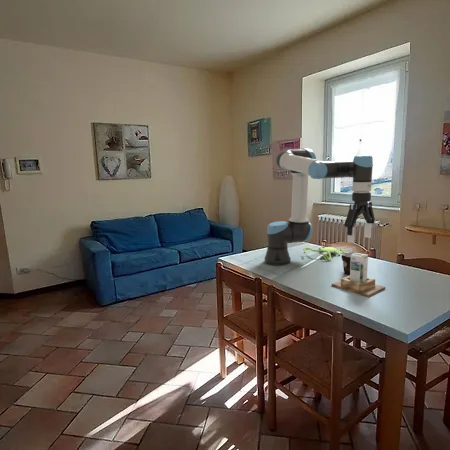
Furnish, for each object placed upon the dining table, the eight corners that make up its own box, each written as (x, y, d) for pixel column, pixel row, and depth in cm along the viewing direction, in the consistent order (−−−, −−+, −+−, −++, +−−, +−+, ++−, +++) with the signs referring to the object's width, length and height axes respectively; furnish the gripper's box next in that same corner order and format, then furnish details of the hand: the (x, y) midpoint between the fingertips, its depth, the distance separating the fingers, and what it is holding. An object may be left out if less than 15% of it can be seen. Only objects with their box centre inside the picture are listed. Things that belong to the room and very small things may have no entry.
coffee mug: (361, 276, 163) (362, 257, 162) (342, 276, 165) (343, 256, 163) (356, 269, 174) (357, 251, 173) (339, 269, 176) (340, 250, 174)
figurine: (298, 257, 202) (298, 248, 201) (324, 249, 219) (324, 241, 218) (324, 263, 188) (325, 254, 187) (349, 254, 205) (350, 245, 204)
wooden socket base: (331, 285, 152) (331, 277, 152) (348, 279, 160) (349, 271, 160) (368, 297, 138) (368, 288, 137) (385, 289, 146) (385, 280, 146)
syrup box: (349, 285, 149) (350, 254, 147) (354, 282, 153) (355, 251, 151) (361, 288, 145) (362, 256, 143) (367, 284, 149) (368, 253, 147)
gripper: (353, 194, 131) (350, 246, 135) (384, 190, 146) (382, 236, 150) (336, 193, 137) (335, 242, 141) (368, 189, 152) (366, 234, 156)
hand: (359, 239), depth 146 cm, fingers open, 13 cm apart
